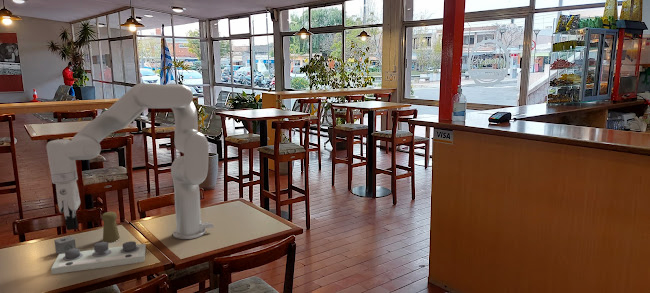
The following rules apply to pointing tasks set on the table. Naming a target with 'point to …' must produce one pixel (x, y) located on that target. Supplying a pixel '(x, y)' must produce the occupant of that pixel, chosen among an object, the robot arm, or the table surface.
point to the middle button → (101, 247)
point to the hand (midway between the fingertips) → (72, 228)
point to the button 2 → (129, 246)
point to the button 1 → (72, 253)
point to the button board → (99, 259)
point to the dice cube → (64, 244)
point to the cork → (110, 227)
